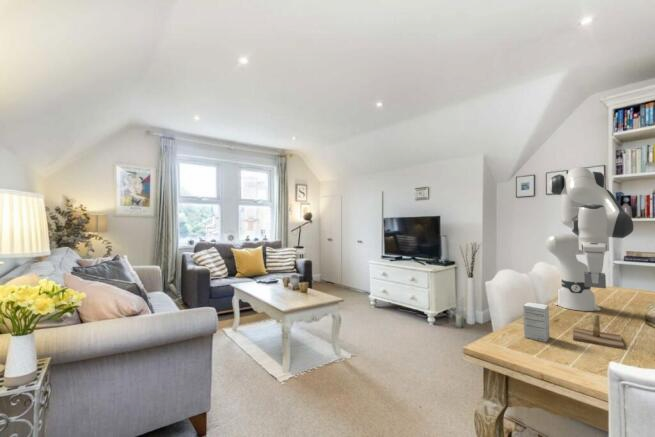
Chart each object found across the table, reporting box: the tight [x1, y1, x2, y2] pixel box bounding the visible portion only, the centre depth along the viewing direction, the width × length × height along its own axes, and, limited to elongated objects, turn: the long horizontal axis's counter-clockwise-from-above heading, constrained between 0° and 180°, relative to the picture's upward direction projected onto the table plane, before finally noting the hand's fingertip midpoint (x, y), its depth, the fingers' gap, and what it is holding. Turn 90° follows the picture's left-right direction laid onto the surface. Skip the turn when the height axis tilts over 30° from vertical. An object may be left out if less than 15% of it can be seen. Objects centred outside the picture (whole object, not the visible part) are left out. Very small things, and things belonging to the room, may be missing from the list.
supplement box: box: [522, 301, 551, 343], centre depth 119 cm, size 7×7×13 cm
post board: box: [572, 314, 625, 350], centre depth 116 cm, size 14×14×9 cm
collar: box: [584, 272, 607, 289], centre depth 117 cm, size 6×6×5 cm
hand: (594, 281), depth 117 cm, fingers closed on collar, 6 cm apart
